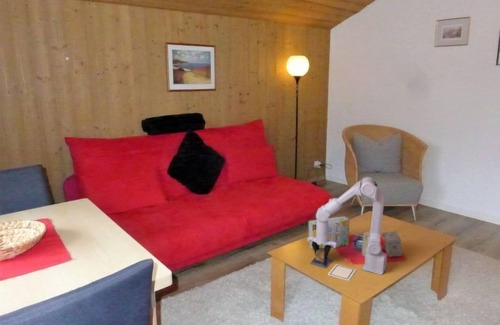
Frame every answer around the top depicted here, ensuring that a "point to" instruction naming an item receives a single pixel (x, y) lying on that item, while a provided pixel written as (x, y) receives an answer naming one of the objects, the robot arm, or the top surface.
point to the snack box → (333, 231)
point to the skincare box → (364, 242)
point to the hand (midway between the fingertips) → (321, 257)
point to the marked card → (342, 272)
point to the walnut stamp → (320, 255)
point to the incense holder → (392, 243)
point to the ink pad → (321, 262)
